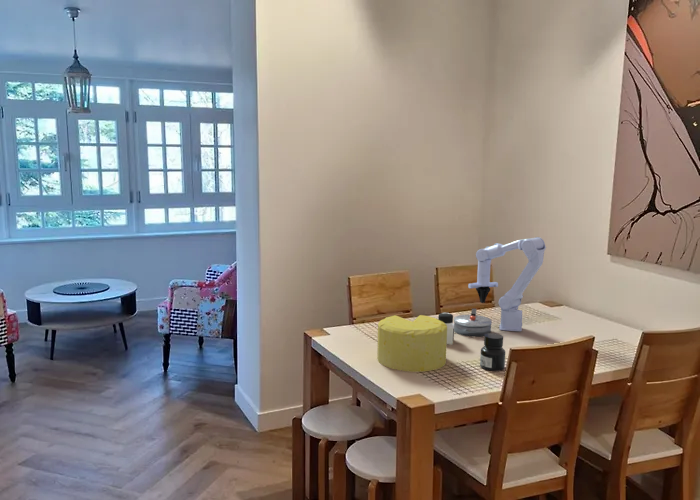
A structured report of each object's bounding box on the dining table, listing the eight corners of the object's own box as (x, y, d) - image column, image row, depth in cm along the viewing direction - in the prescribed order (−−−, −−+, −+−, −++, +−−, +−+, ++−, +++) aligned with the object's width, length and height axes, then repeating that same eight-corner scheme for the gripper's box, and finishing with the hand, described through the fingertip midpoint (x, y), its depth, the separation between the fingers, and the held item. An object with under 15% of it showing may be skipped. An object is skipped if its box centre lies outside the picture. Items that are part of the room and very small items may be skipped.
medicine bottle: (453, 344, 248) (454, 316, 246) (435, 343, 249) (436, 315, 247) (453, 339, 254) (454, 312, 253) (436, 338, 256) (437, 311, 254)
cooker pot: (490, 338, 257) (491, 329, 257) (453, 335, 261) (453, 326, 260) (490, 325, 277) (490, 316, 277) (455, 322, 281) (455, 314, 280)
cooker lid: (491, 328, 256) (491, 322, 256) (452, 325, 260) (452, 319, 260) (492, 315, 278) (492, 309, 277) (456, 312, 281) (456, 307, 281)
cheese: (402, 344, 247) (403, 309, 245) (458, 358, 231) (460, 321, 228) (363, 360, 227) (364, 322, 225) (421, 377, 211) (423, 336, 208)
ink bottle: (476, 362, 226) (478, 332, 224) (499, 362, 227) (501, 331, 225) (484, 372, 217) (485, 340, 215) (508, 371, 217) (510, 339, 215)
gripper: (492, 271, 285) (491, 299, 287) (465, 273, 280) (464, 301, 282) (500, 274, 278) (499, 303, 280) (473, 276, 274) (471, 305, 276)
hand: (482, 302), depth 281 cm, fingers closed
